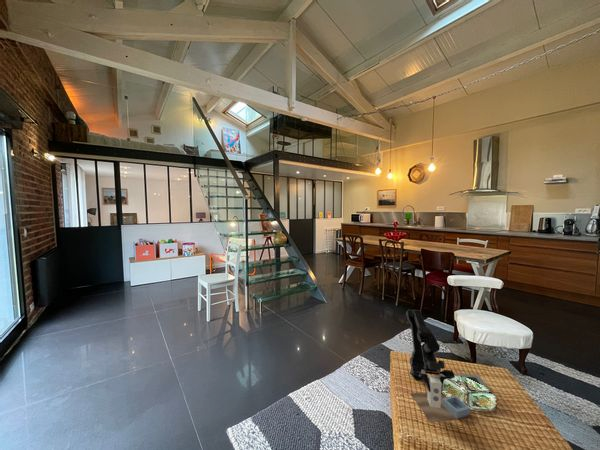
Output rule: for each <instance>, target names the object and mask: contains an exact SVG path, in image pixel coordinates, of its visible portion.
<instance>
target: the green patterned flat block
mask: <svg viewBox="0 0 600 450" xmlns="http://www.w3.org/2000/svg"><path fill="white" fill-rule="evenodd" d="M458 374H459V376H460V377H461V376H463V377H466V378H469V379H471V380H473V381H475V382H477V383H479V384H481V385H484V386H485V387H486V388H488V389H489V390H490V388H489V387H488V386H487V384H486V383H485V382H484V381H483V379H482V378H481V376H480V375H478V374H471V373H462V372H458Z"/></svg>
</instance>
